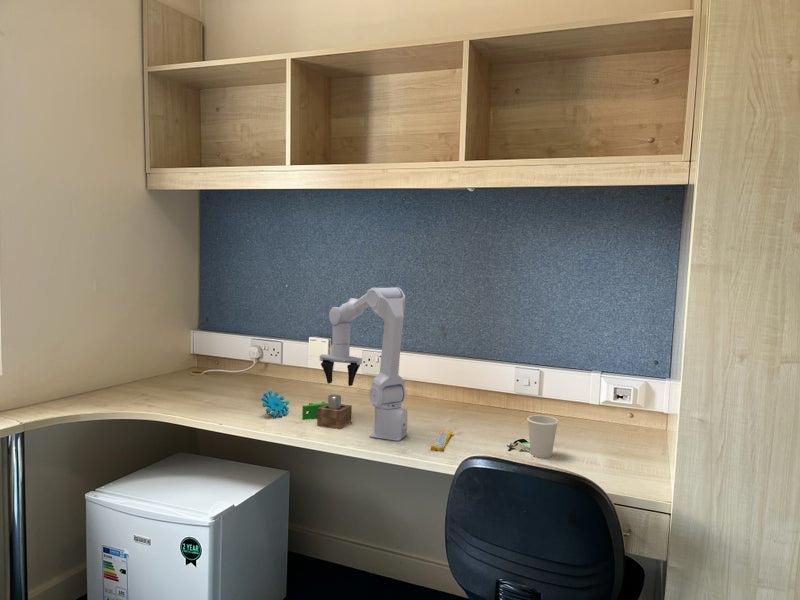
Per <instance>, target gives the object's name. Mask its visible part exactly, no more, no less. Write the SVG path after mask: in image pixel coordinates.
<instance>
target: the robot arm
mask: <svg viewBox="0 0 800 600" xmlns="http://www.w3.org/2000/svg"><path fill="white" fill-rule="evenodd" d="M405 305H406V295H405V293H404V292H403V289H401V288H400V287H399V286H395V287H371V288H370V289H367V290H366V293H365V294H363V295H362V296H361V297H359V298H355V297H353V298H352V297H350V298H348V301H347V302H345V303H342V304H341V305H340V306H338V307H337V306H332V307H331V308H330V310H329V313H328V314H329V315H328V317H329V318H328V319H329V321H330V324H331V325H332V332H331V333H332V339H331V341H332V342H331V343H332V344H331V354H320V355H319V362H321V363H320V366H321V368H322V369H323V372H324V375H325V377H326V383H327V384H332V383H333V370H334V364H335V363H341V364H347V366H346V367H347V374H348V375H347V376H348V381H347V383H348V385H347V386H349V387H351V386H353V385H354V381H355V377H356V374H357V372H358V370H359V368H360V367H361V365H362V364H363V357H357V356H351V355H350V350H351V349H350V346H351V345H350V343H351V341H350V340H351V330H352V326H353V322H354V320H355V319H357V318H358V317H360V316H361V315H363V313H364V311H365V309H367V308H370V309H371V310H372V311H373V312H374V313H375V314H376V316H378V317H380V318H381V319H382V320H383V321H384V322H383V323H384V326H383V336H382V344H381V345H382V346H381V355H380V356H381V357H380V364H379V365H380V366H379V367H380V368H379V373H378V374H377V375H376V376H375V377H374V378H373V379H372V381H371V386H370V389H369V392H368V397H369V401H370V403H371V404H372V407H374V425H373V426H374V427H373V428H374V429H373V432H371V433H370V434H369V438H376V439H380V440H381V439H383V440H388V441H389V440H390V441H396V442H398V441H399V442H400V441H401V440H402V439H404V437H406V435H408V434H409V433H408V409H407V408H405V407H402V403H403V402H404V401H405V399H406V393H407V392H406V389H405V388H406V387H405V383H406V381H405V380H404V379H403V378H402V377H401V376H400V375H399V369H400V368H399V366H400V359H401V358H400V357H401V356H400V355H401V347H402V336H403V328H404V327H403V325H404V317H405V316H404V315H405V307H406V306H405Z"/></svg>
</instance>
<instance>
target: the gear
mask: <svg viewBox="0 0 800 600" xmlns="http://www.w3.org/2000/svg"><path fill="white" fill-rule="evenodd" d="M262 395H263V396H262V397H261V398H260V400H261V401H262V402H263V403H262V404H261V405H262V407H263V408H266V409H265V411H266V412H265V413H266V414H267V413H269V414H270V413H271V411H273V412H272V413H271V417H272V416H273V417H276V416H277V417H278V418H282V417H283V416H284V417H285V416H286V415H287V414H288V411H289V410H290V407H289V406H288V405H289V404H290V403H291V400H289V399H287V400H286V401H285V400H284V399H285V397H284V395H280V394H279V392H277V391H275V392H273V391H272V390H269V391H268V392H264V393H263V394H262ZM278 395H280V397H279V396H278ZM277 413H278V414H277Z"/></svg>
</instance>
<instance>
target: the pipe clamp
mask: <svg viewBox="0 0 800 600" xmlns="http://www.w3.org/2000/svg"><path fill="white" fill-rule="evenodd" d="M327 403H328V402H325V401H321V403H312V402H309V403H308V404H305V405H302V410H301V411H302V413H301V414H302V417H301V418H302V420H304V421H306V420H314V419H315V418H316V419H317V408H319V407H321V406H323V405H325V404H327ZM305 419H306V420H305Z"/></svg>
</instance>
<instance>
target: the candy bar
mask: <svg viewBox="0 0 800 600" xmlns="http://www.w3.org/2000/svg"><path fill="white" fill-rule="evenodd" d="M452 435H454V431H450V430H440V431H439V434H438V436H437V438H436V439H435V442H434V443H433V444H432V445H431V446H430V450H431V451H433V450H438V451H437V452H444V451H445V449H446V447H447V445H448V443H449V441H450V439H451V438H452ZM447 442H448V443H447ZM446 444H447V445H446ZM445 446H446V447H445ZM444 448H445V449H444Z"/></svg>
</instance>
